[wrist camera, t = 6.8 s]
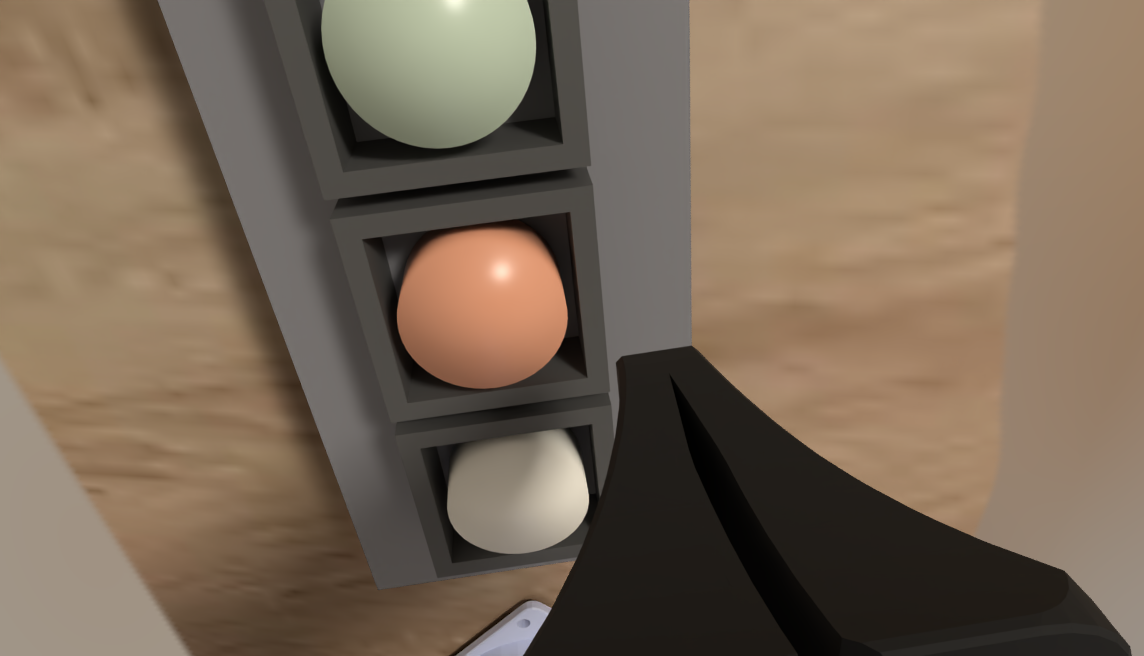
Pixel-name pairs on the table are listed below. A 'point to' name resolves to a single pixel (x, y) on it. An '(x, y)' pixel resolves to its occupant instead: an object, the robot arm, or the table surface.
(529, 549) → the cream button
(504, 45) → the sage button
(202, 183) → the table surface
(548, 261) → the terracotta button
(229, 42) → the charcoal button panel
